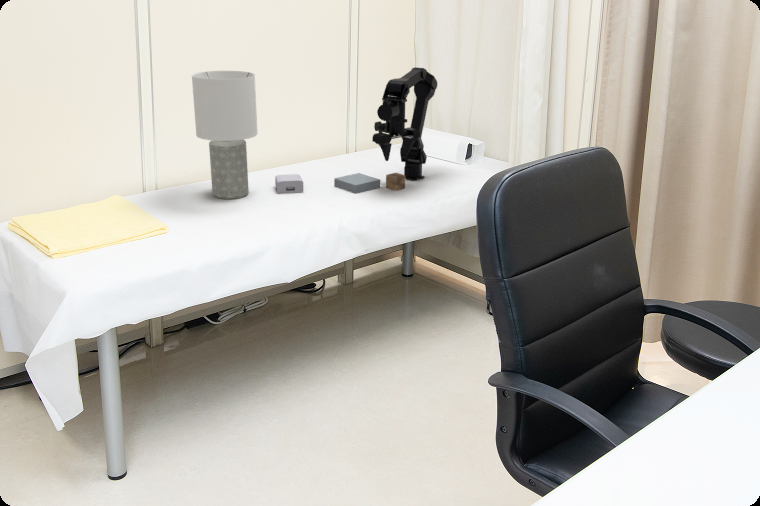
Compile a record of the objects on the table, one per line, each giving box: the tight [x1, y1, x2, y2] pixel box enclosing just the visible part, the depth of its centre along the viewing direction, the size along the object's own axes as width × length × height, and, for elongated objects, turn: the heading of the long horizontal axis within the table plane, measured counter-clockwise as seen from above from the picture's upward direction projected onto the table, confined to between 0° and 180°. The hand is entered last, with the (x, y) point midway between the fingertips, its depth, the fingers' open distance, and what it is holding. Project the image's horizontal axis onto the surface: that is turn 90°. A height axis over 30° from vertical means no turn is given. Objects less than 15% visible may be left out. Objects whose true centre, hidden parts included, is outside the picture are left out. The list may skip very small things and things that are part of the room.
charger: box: [274, 173, 304, 195], centre depth 271 cm, size 5×9×15 cm
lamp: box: [191, 70, 258, 200], centre depth 255 cm, size 21×21×42 cm
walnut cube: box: [385, 172, 406, 192], centre depth 272 cm, size 5×5×5 cm
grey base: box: [333, 172, 381, 194], centre depth 273 cm, size 12×12×3 cm
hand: (396, 158), depth 269 cm, fingers open, 9 cm apart
